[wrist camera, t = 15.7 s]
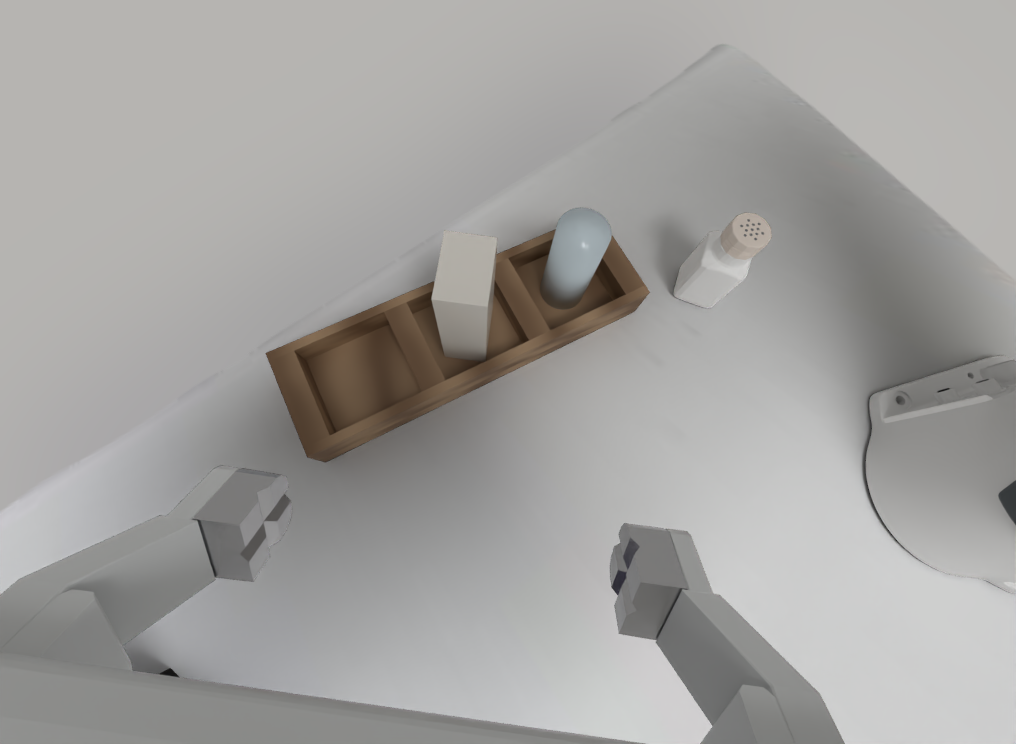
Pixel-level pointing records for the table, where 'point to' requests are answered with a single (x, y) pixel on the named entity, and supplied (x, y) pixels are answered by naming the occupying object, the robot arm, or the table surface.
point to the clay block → (465, 294)
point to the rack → (435, 350)
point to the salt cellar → (574, 257)
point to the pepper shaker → (721, 260)
